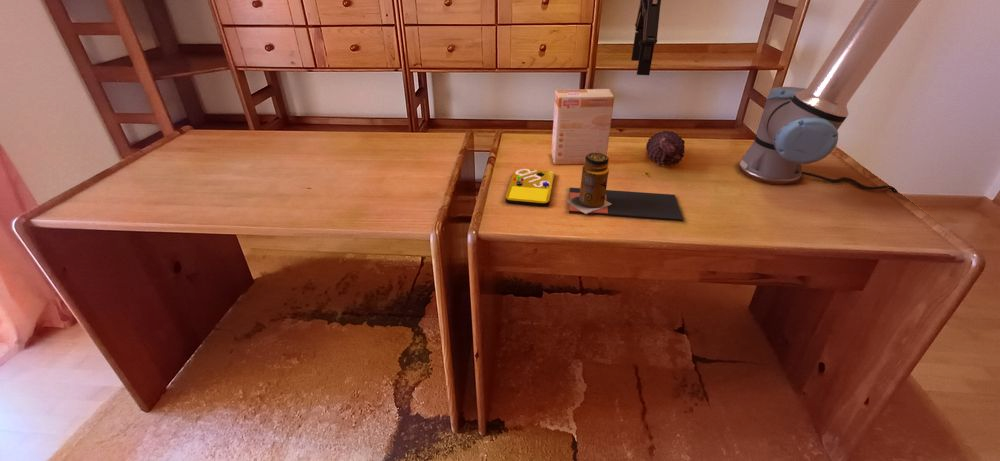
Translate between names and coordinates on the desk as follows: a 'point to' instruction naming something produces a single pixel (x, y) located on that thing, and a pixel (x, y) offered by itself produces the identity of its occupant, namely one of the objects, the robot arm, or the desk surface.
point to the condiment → (592, 184)
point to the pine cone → (666, 148)
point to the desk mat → (635, 205)
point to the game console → (530, 188)
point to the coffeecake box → (581, 124)
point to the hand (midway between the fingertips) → (639, 67)
